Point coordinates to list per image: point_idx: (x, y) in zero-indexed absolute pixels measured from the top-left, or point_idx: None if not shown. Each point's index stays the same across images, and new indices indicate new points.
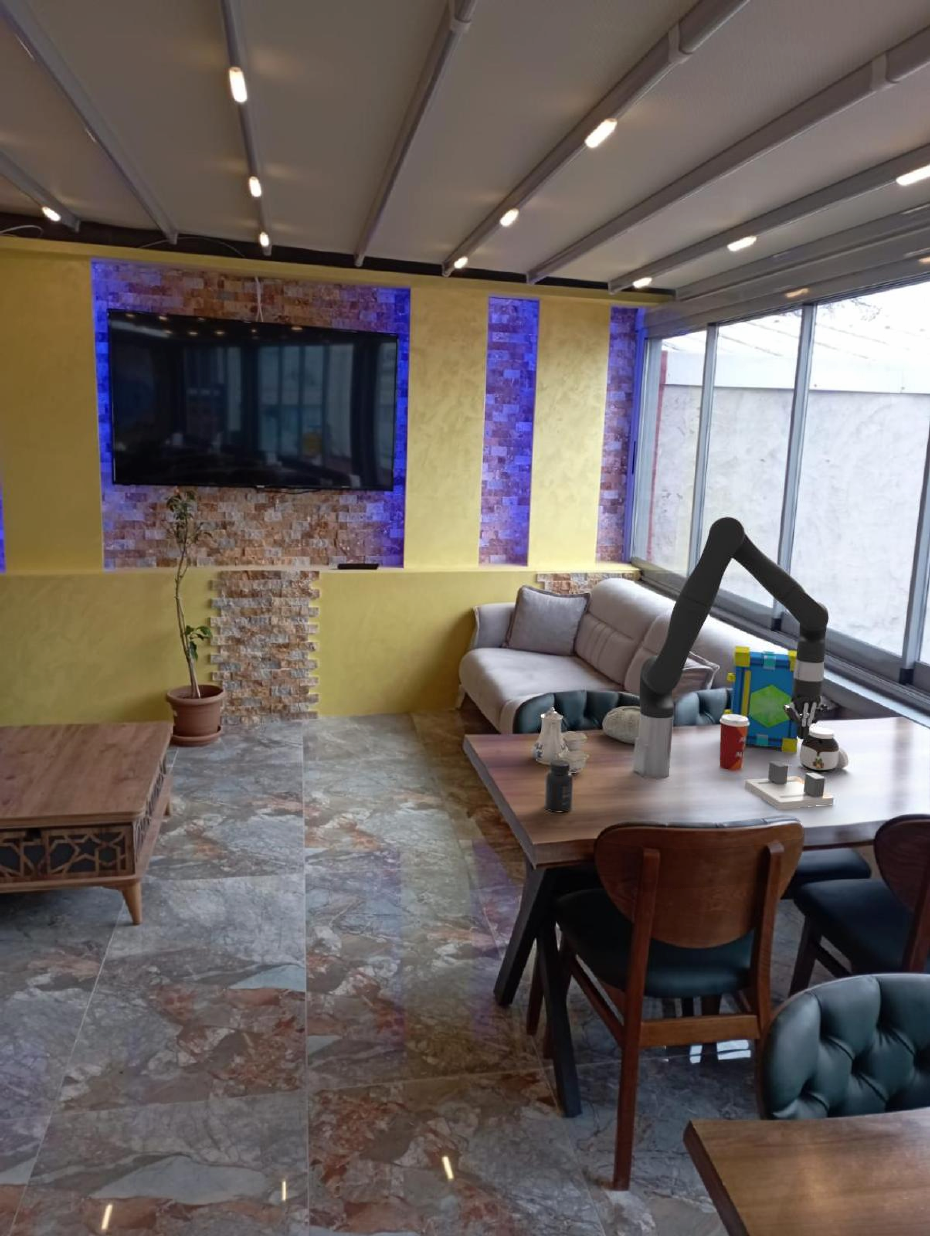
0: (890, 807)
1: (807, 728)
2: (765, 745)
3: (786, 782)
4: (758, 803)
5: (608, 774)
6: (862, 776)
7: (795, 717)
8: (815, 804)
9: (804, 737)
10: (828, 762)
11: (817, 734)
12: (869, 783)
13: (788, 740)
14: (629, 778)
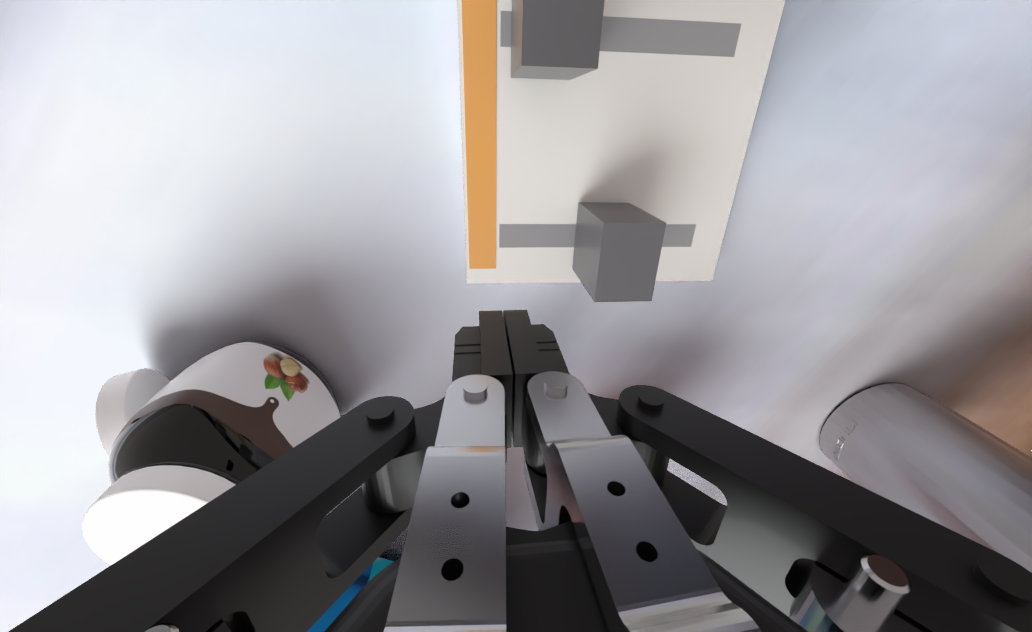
0: None
1: (491, 362)
2: (380, 558)
3: (579, 203)
4: (788, 88)
5: (986, 424)
6: (92, 291)
7: (746, 457)
8: None
9: (509, 315)
10: (239, 358)
11: None
12: (88, 205)
13: None
14: (966, 392)
